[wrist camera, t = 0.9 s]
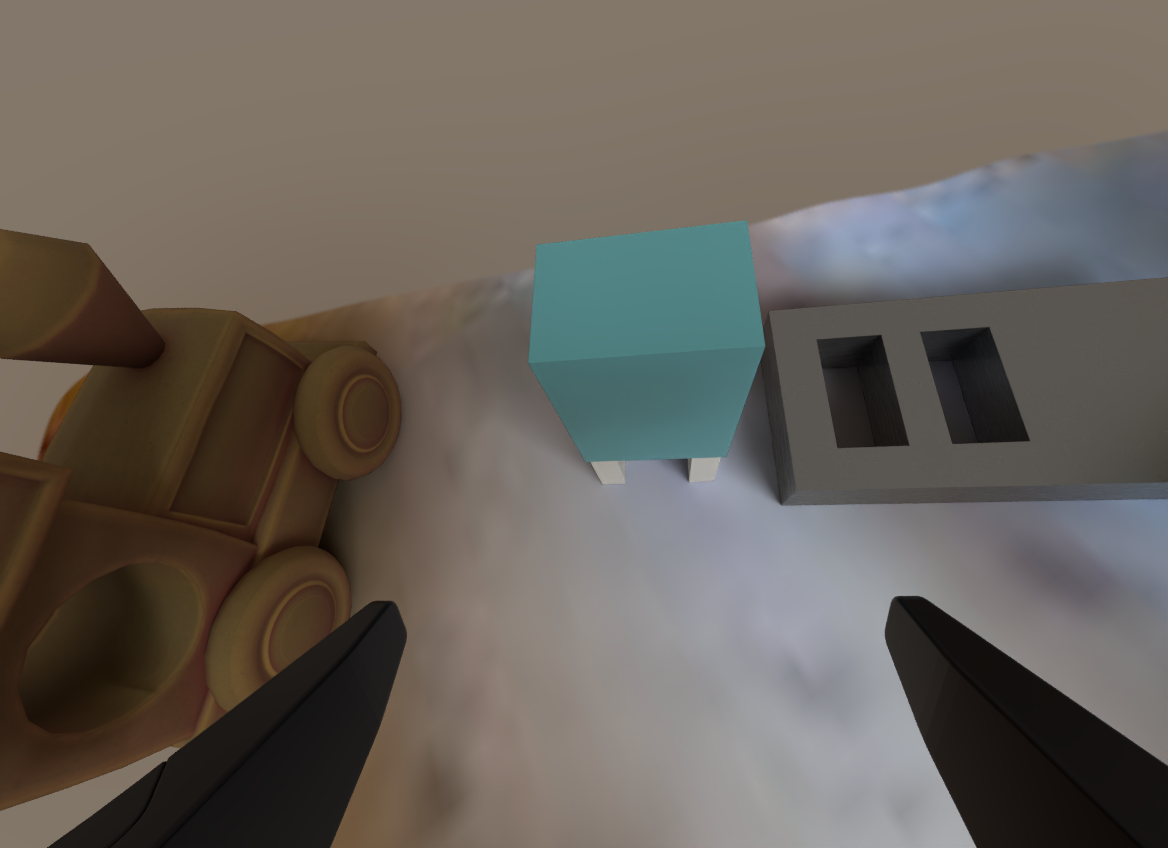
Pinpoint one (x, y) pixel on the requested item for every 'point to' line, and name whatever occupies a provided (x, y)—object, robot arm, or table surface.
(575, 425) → the clip
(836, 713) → the table surface
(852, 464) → the grey block with holes
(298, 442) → the wooden toy train
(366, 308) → the table surface
